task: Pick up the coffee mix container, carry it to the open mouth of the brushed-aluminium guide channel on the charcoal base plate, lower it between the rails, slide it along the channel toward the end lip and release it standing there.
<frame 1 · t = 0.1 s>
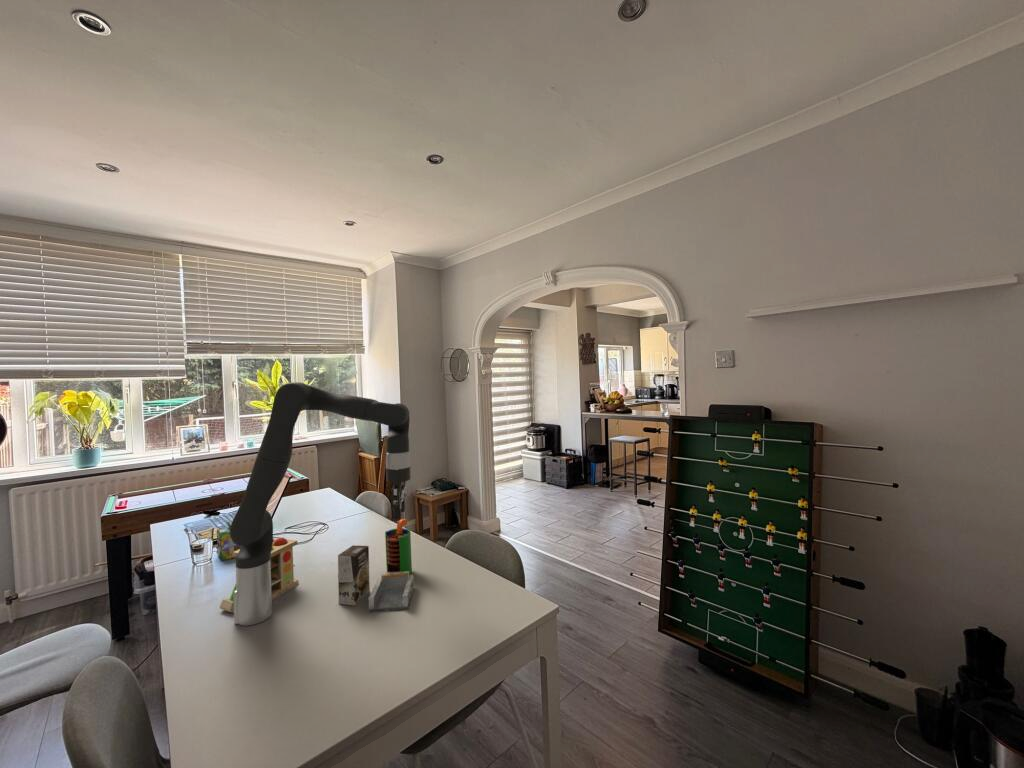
hand: (399, 516, 135), 29 cm above the table, fingers open, 8 cm apart
motor: (399, 574, 159), on the table
pounding bench toy: (257, 597, 144), on the table
coupler rail: (392, 599, 140), on the table
chalk box: (231, 555, 180), on the table
coffee box: (354, 598, 142), on the table
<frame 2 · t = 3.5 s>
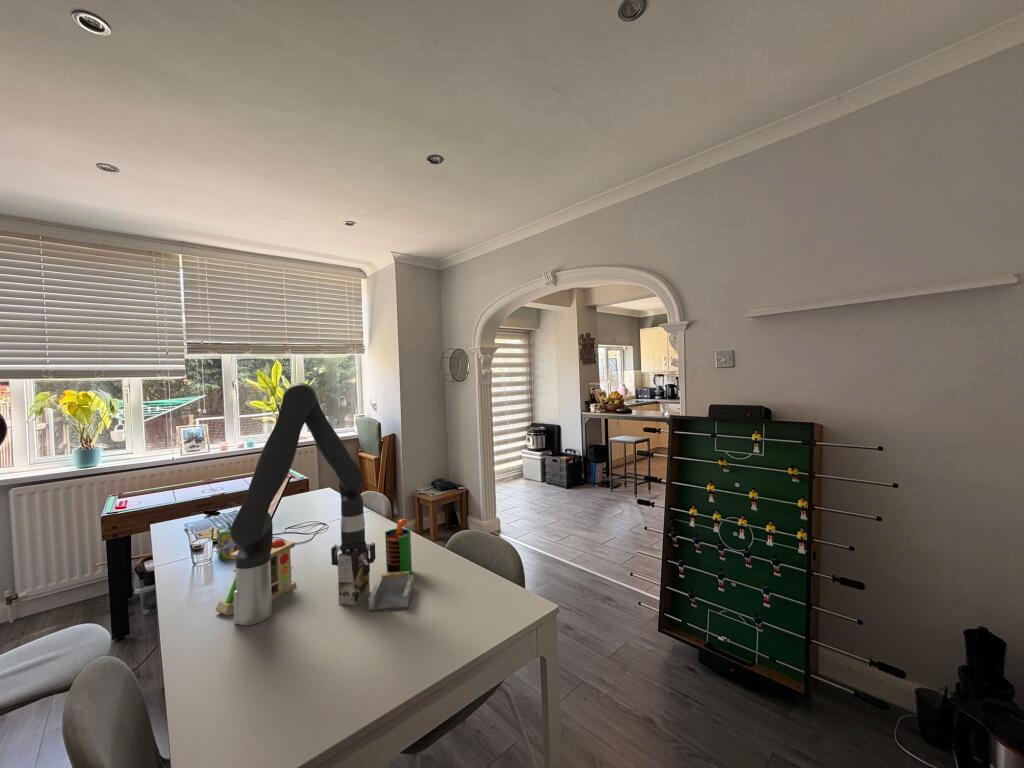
hand: (354, 575, 141), 7 cm above the table, fingers closed on coffee box, 7 cm apart
pounding bench toy: (254, 599, 142), on the table
coffee box: (354, 598, 142), on the table, touching gripper
everything else where it was.
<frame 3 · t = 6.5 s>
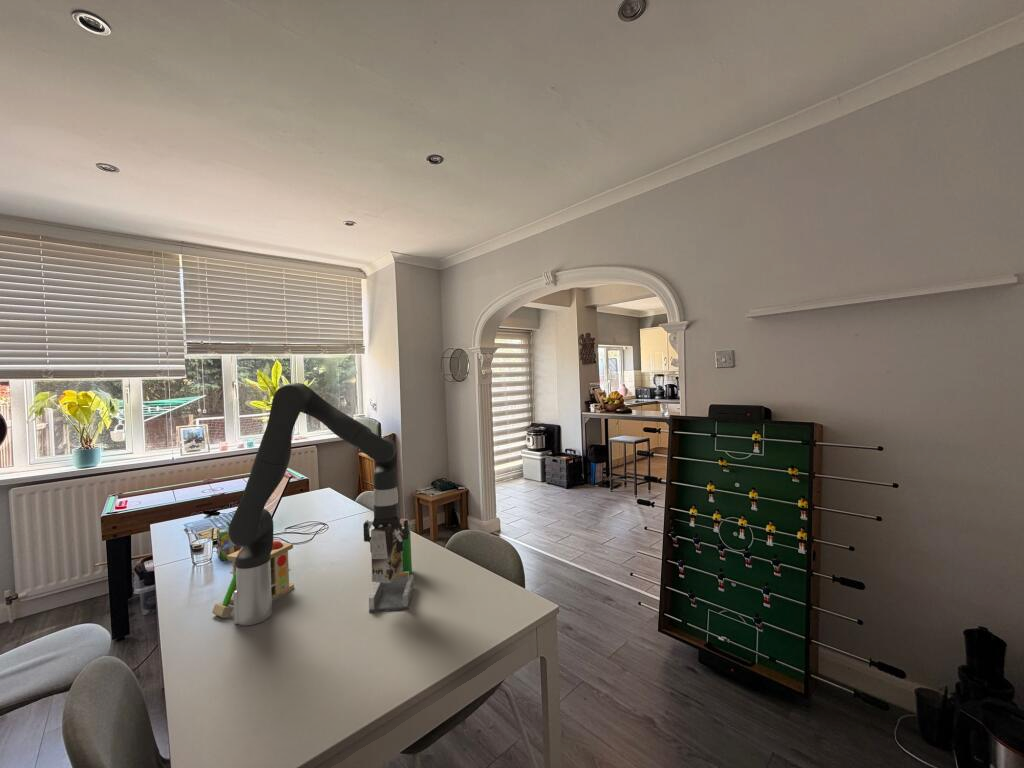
hand: (387, 553, 134), 18 cm above the table, fingers closed on coffee box, 7 cm apart
pounding bench toy: (251, 602, 141), on the table
coffee box: (388, 576, 134), point 10 cm above the table, touching gripper
everything else where it was.
when the fingers open (9 cm above the table, at t = 9.8 s): coffee box drops 1 cm, resting on coupler rail.
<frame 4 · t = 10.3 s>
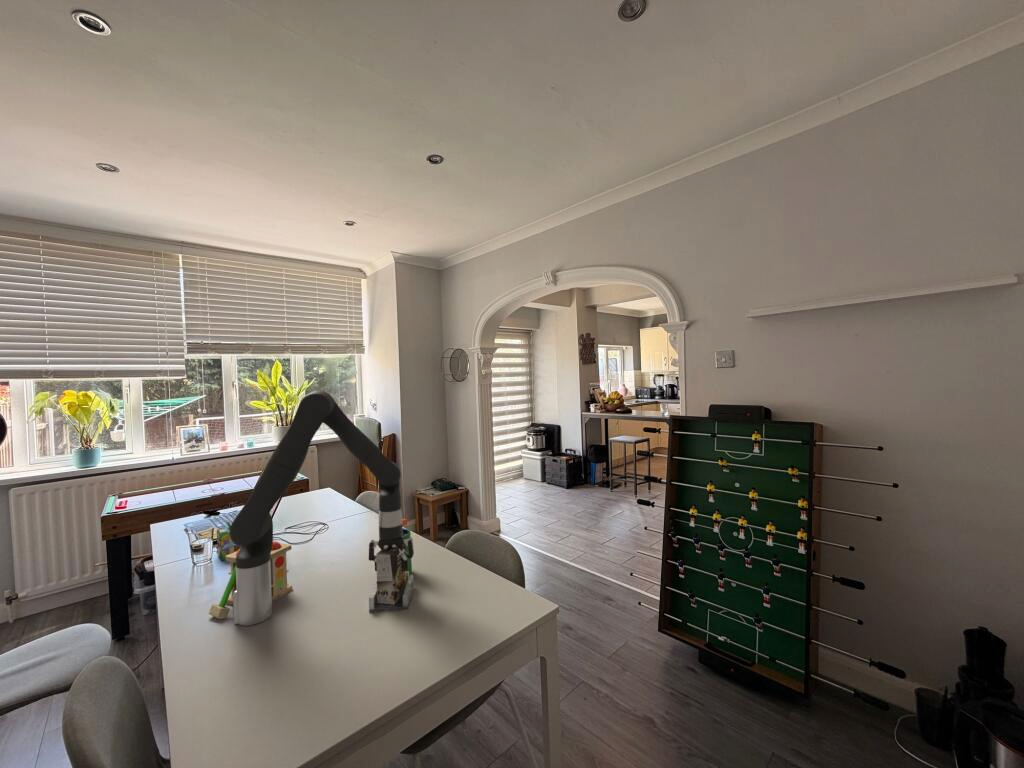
hand: (391, 571, 140), 9 cm above the table, fingers open, 8 cm apart
coffee box: (392, 597, 139), point 1 cm above the table, touching coupler rail
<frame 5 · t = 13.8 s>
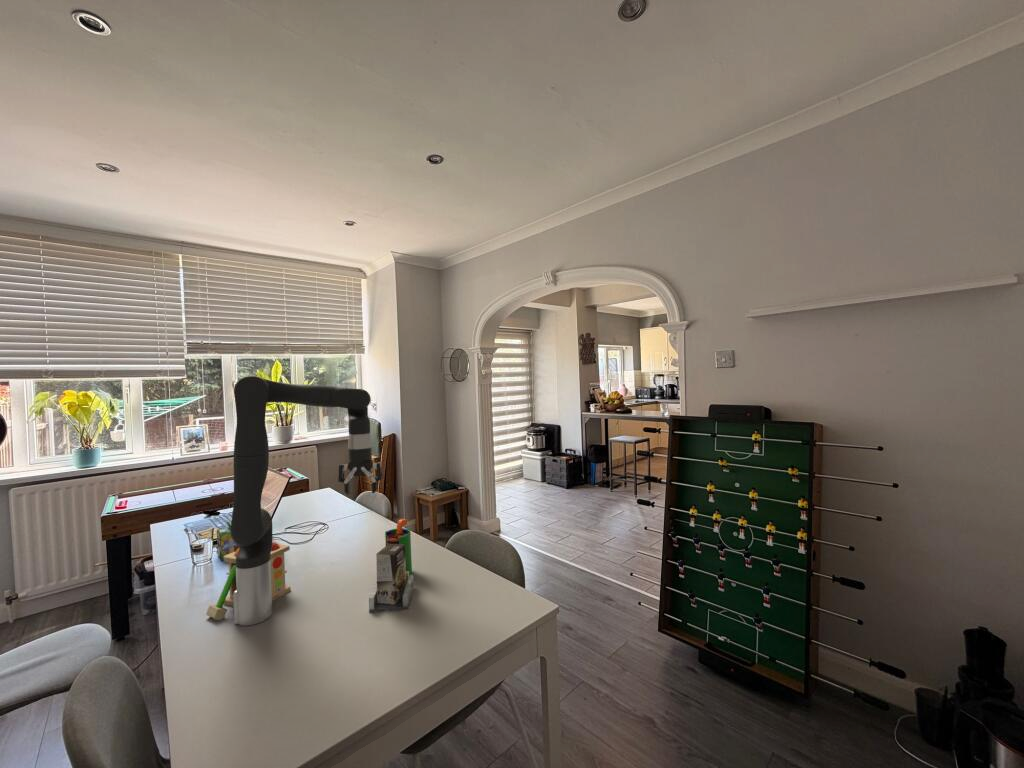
hand: (361, 493, 145), 34 cm above the table, fingers open, 8 cm apart
at the end: coffee box 0.6 cm from the target spot on the coupler rail, point 0.8 cm above the coupler rail's base; coffee box tilted 0°; the gripper is holding nothing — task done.
